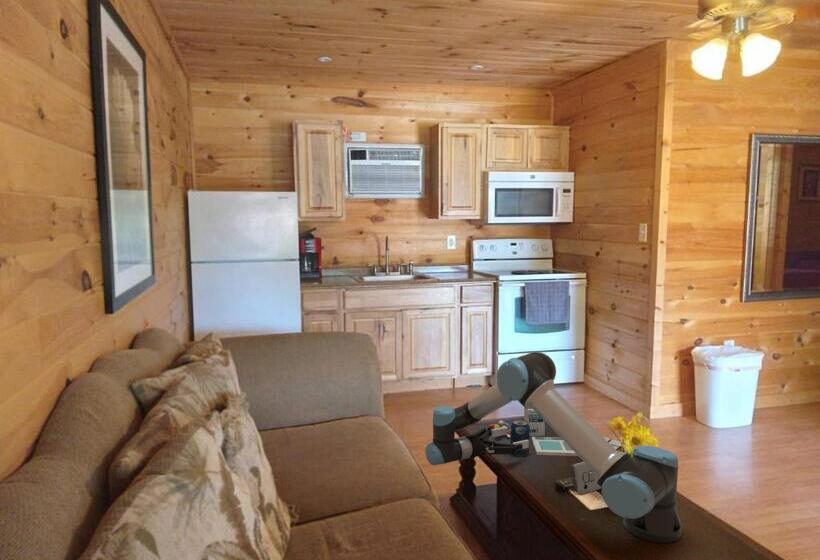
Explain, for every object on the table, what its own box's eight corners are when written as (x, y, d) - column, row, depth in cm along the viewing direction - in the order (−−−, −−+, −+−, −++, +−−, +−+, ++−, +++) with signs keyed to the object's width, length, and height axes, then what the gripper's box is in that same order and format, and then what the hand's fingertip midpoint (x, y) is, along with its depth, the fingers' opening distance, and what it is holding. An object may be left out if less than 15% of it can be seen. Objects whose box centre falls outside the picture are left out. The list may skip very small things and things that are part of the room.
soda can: (525, 458, 206) (526, 426, 205) (507, 454, 210) (508, 423, 208) (531, 451, 212) (532, 420, 211) (514, 447, 216) (514, 417, 214)
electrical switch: (579, 495, 179) (578, 466, 179) (568, 490, 184) (567, 461, 184) (602, 489, 183) (601, 461, 183) (590, 484, 188) (589, 456, 188)
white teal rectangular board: (591, 456, 208) (591, 453, 207) (536, 454, 209) (536, 451, 209) (583, 441, 221) (583, 438, 221) (531, 439, 223) (531, 436, 223)
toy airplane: (487, 433, 230) (487, 418, 229) (507, 430, 233) (507, 415, 232) (496, 442, 221) (496, 426, 221) (517, 439, 224) (517, 423, 223)
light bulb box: (545, 436, 227) (545, 410, 225) (528, 436, 227) (528, 410, 225) (539, 426, 237) (540, 401, 236) (523, 426, 237) (523, 401, 236)
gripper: (450, 444, 213) (497, 434, 222) (486, 471, 190) (537, 459, 199) (450, 425, 212) (497, 416, 221) (487, 450, 189) (538, 439, 198)
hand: (516, 436), depth 210 cm, fingers open, 13 cm apart
